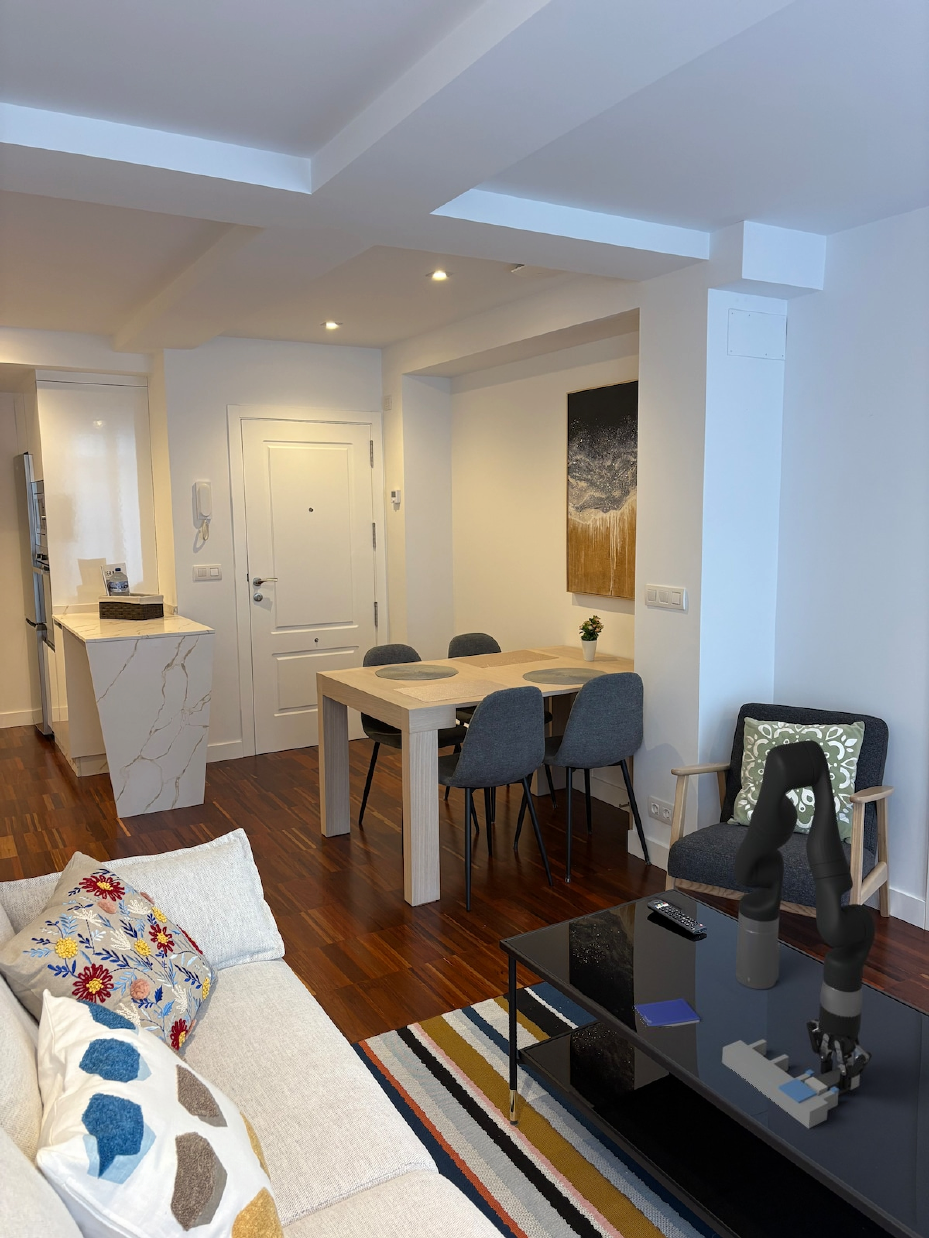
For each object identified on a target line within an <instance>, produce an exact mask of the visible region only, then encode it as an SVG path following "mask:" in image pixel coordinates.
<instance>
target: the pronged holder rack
mask: <svg viewBox="0 0 929 1238" xmlns="http://www.w3.org/2000/svg"><path fill="white" fill-rule="evenodd" d="M767 1044H768V1042H767V1040H765V1039H764V1038H763V1039H760V1040H757V1041H756V1042H755V1041H754V1042H753V1043H751V1044H747V1043H746V1042H744V1041H743V1040H741V1039H740V1040H737V1041H735V1042H732V1043H730V1044H727V1045H725V1046H723V1047H722V1058H721V1063H722V1064H724V1065H725V1066H726V1068H728V1069H730V1070H731V1069H732V1070H733V1071H732V1070H731V1071H732V1072H734V1071H735V1072H736V1073H737V1074H736V1073H735V1072H734V1073H735V1074H736V1075H738V1074H739V1075H740V1076H741V1077H740V1076H739V1075H738V1076H739V1077H740V1078H741V1079H743V1078H744V1079H746V1080H745V1082H747V1081H748V1082H749V1083H750V1085H751V1084H752V1085H753V1086H754V1087H753V1086H752V1085H751V1086H752V1087H753V1088H755V1087H756V1088H757V1089H758V1090H757V1089H756V1088H755V1089H756V1090H757V1091H759V1092H760V1091H761V1092H762V1093H761V1092H760V1093H761V1094H763V1096H765V1095H766V1096H765V1097H766V1098H768V1099H769V1098H770V1099H771V1100H770V1099H769V1100H770V1101H771V1102H772V1103H774V1102H775V1103H774V1104H776V1105H777V1106H778V1105H779V1106H778V1107H780V1108H781V1109H782V1110H783V1111H785V1112H786V1113H787V1112H788V1114H789V1116H791V1117H793V1119H795V1120H797V1121H798V1122H800V1123H801V1124H802V1125H803V1126H804V1127H806V1128H807V1129H808V1130H810V1129H811V1128H812V1127H814V1126H817V1125H819V1124H821V1123H822V1122H824V1121H827V1119H828V1111H830V1110H831V1109H833V1108H835V1107H837V1106H838V1101H839V1095H838V1091H839V1089H838V1088H836V1087H835V1086H834V1087H832V1088H830V1091H828V1092H826V1093H824V1094H822V1095H820V1096H818V1095H817V1093H816V1092H815V1091H814V1090H812V1089H811V1088H809V1087H808V1086H807V1085H805V1080H807V1079H809V1078H811V1077H814V1075H815V1071H813V1070H812V1069H808V1070H806V1071H805V1073H804V1074H803V1073H802V1074H801V1075H799V1076H797V1077H795V1078H794V1077H793V1076H792V1075H790V1074H788V1073H787V1071H789V1060H790V1056H788V1055H787V1054H786V1053H785V1054H781V1055H780V1056H777V1057H775V1058H773V1059H772V1060H771V1059H770V1060H769V1059H767V1058H766V1057H764V1056H767ZM814 1078H815V1077H814ZM744 1079H743V1080H744ZM748 1082H747V1083H748ZM749 1083H748V1084H749Z"/></svg>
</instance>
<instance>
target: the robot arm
mask: <svg viewBox="0 0 929 1238" xmlns="http://www.w3.org/2000/svg"><path fill="white" fill-rule="evenodd" d="M809 787H811V790H812V793H813V799H814V801H813V802H814V807H813V814H812V820H811V824H810V828H809V830H808V835H807V839H806V844H805V845H806V846H805V849H806V850H805V852H806V858H807V862H808V866H809V869H810V873H811V876H812V879H813V883H814V886H815V887H814V889H815V919H816V920H815V922H816V927H817V931H818V933H819V935H820V936H821V938H822V939H823V941H824V942H825V943H826V944H827V945H829V946H830V947H833V948H832V949H830V950H829V951H827V953H825V956H824V960H823V961H824V962H823V972H822V973H823V974H822V975H823V976H822V983H821V987H820V998H819V1011H818V1018H816V1019H815V1018H814V1019H812V1020H810V1021H808V1022H806V1028H807V1032H808V1037H809V1041H810V1046H811V1050H812V1052H813V1053H814V1054H817V1055H818V1056H819V1060H820V1074H821V1075H823V1074H825V1073H827V1072H829V1071H832V1070H833V1065H834V1064H833V1063H834V1060H833V1055H834V1052H835V1054H836V1060H837V1063H839V1065H840V1070H841V1073H840V1079H839V1089H840V1090H841V1091H842V1092H843V1091H845V1090H847V1089H849V1088H850V1087H851V1081H852V1078H854V1077H856V1076H858V1075H862V1074H863V1072H864V1071H865V1069H866V1068H867V1065H868V1064H869V1063H870V1060H871V1059H872V1057H873V1055H872V1053H870V1051H865V1050H864V1049H863V1048H862V1047H861V1046H860V1041H859V1037H858V1036H859V1033H860V1030H861V1023H862V1022H861V1020H862V1007H863V1005H862V1004H863V989H862V988H863V974H864V967H865V964H866V962H867V960H868V958H869V957H868V956H869V954H870V951H871V949H872V946H873V943H874V939H875V935H876V925H875V924H876V923H875V920H874V919H875V918H874V917H873V915H872V913H871V911H870V910H869V909H868V908H866V907H865V906H864V905H863V904H862V905H861V904H858V903H852V904H846V905H842V898H843V897H842V896H843V895H844V894H846V893H847V892H849V891H850V890H852V889H853V887H854V882H853V877H852V873H851V870H850V867H849V864H848V861H847V858H846V854H845V851H844V847H843V843H842V839H841V834H840V830H839V824H838V817H837V809H836V801H835V796H834V790H833V784H832V778H831V772H830V767H829V763H828V758H827V756H826V753H825V751H824V749H823V748H822V746H821V745H820V744H819V743H818V742H817V741H815V740H813V739H807V740H802V741H794V742H789V743H788V742H787V743H784V744H778V745H775V746H773V747H771V748H770V749H769V751H768V752H767V755H766V758H765V761H764V768H763V775H762V780H761V785H760V790H759V793H758V796H757V799H756V802H755V805H754V807H753V809H752V813H751V817H750V820H749V824H748V827H747V830H746V833H745V835H744V838H742V841H741V843H740V845H739V847H738V849H737V851H736V854H735V856H734V861H733V872H734V877H735V880H736V881H737V883H738V884H740V885H741V886H742V887H746V888H753V889H754V888H758V889H756V890H754V891H752V892H749V893H746V894H744V895H743V896H741V898H739V902H738V920H737V923H738V925H737V940H736V941H737V943H736V959H735V960H736V961H735V979H736V980H737V981H738V982H739V983H740V984H741V985H743V986H745V987H748V988H751V989H755V990H767V989H770V988H773V987H774V986H775V985H776V981H778V980H779V977H780V976H779V975H780V973H779V972H780V959H781V958H780V954H781V943H780V942H779V929H780V928H779V923H780V912H781V911H780V910H781V901H782V891H783V883H784V876H785V862H784V857H783V854H782V852H781V851H780V848H781V847H783V846H784V845H786V844H787V843H788V842H789V840H790V839H791V838H792V835H793V833H794V832H795V831H794V830H795V829H796V826H797V823H798V816H799V815H798V811H797V808H796V805H795V804H794V802H793V801H792V799H791V798H790V797H789V796H788V795H787V793H788V792H790V791H791V790H792V791H793V790H798V789H804V788H805V789H806V788H809ZM846 1064H847V1065H846Z"/></svg>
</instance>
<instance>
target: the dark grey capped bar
mask: <svg viewBox="0 0 929 1238" xmlns="http://www.w3.org/2000/svg"><path fill="white" fill-rule="evenodd" d="M846 1065H847V1064H846ZM840 1073H841V1070H840V1064H838V1065H837V1068H834V1069H832V1071H829V1072H827V1073H825V1074H823V1075H822V1074H821V1075H819V1076H817V1077H811V1078H809V1079H807V1080H805V1085H807V1086H808V1087H809V1088H811V1089H812V1090H814V1091H815V1092H816V1093H817V1095H818V1096H820V1095H822V1094H824V1093H826V1092H828V1091H830V1088H832V1087H834V1086H835V1087H836V1088H838V1089H839V1079H840ZM860 1075H861V1074H860ZM860 1075H858V1076H856V1077H854V1078H852V1081H851V1087H850V1088H849V1089H847V1090H845V1091H843V1092H842V1091H841V1090H840V1089H839V1091H838V1096H839V1095H842V1094H843V1093H846V1092H848V1091H849V1090H850V1091H851V1090H854V1089H855V1088H857V1087H859V1086H860V1077H861V1076H860Z"/></svg>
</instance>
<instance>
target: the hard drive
mask: <svg viewBox="0 0 929 1238" xmlns="http://www.w3.org/2000/svg"><path fill="white" fill-rule="evenodd" d="M633 1006H634V1007H635V1009H637V1011H638V1013H640V1015H641V1016H643V1017H642V1018H643V1020H644V1021H645V1022H646V1023H647V1025H648V1026H672V1027H678V1026H684V1025H688V1024H689V1025H690V1024H695V1023H700V1022H701V1021H700V1020H701V1019H700V1017H699V1016H698V1014H697V1013H696V1012H695V1011H694V1010H693V1008H692V1007H691V1006H690V1004H688V1002H687V1001H686V1000H685V999H684V998H678V999H671V1000H670V999H669V1000H664V1001H657V1002H650V1003H644V1004H638V1005H637V1004H636V1005H633Z"/></svg>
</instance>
